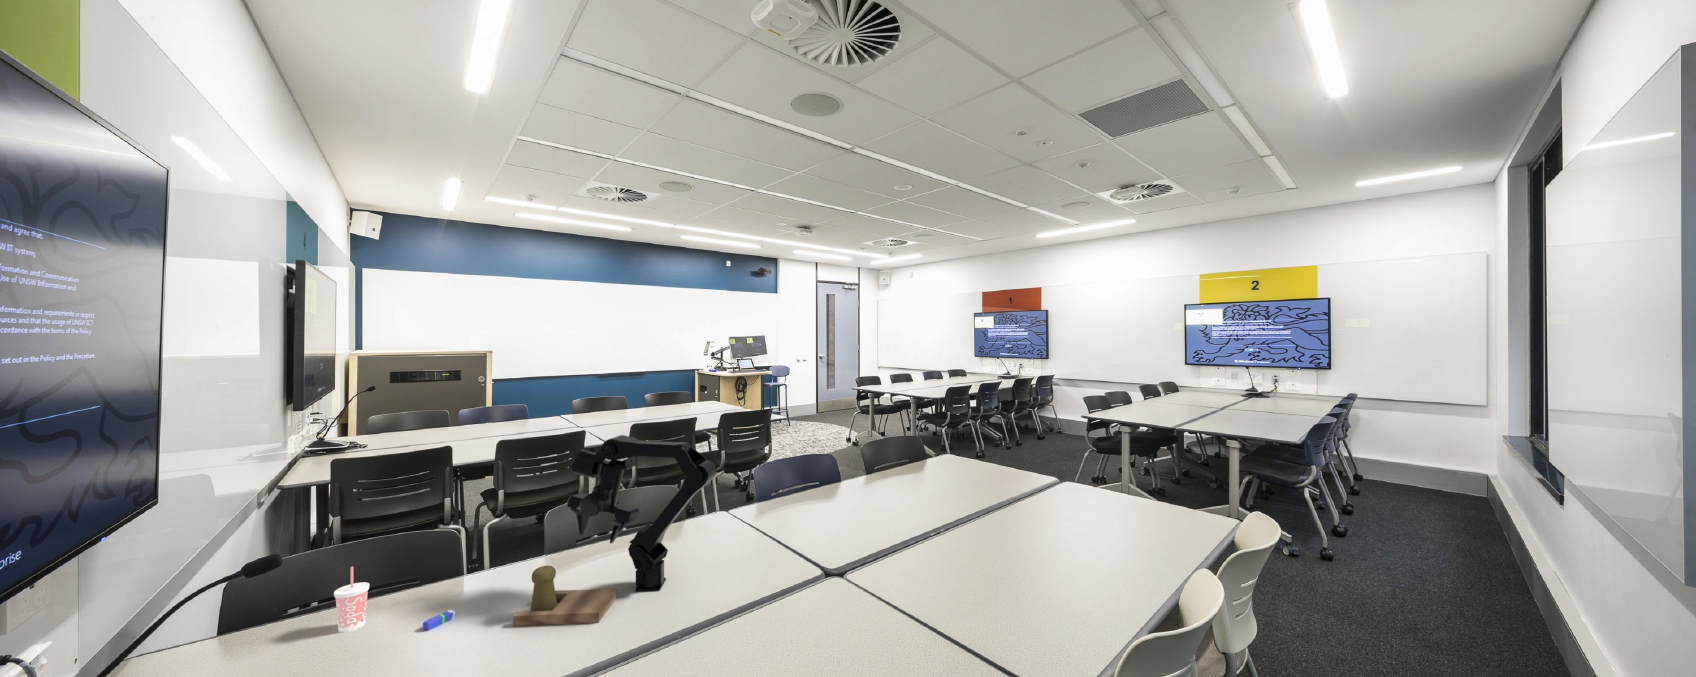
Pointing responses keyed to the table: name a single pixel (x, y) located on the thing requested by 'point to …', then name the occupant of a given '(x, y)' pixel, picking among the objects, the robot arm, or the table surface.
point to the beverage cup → (351, 605)
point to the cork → (543, 589)
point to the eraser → (438, 620)
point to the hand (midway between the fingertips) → (596, 538)
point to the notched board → (571, 608)
